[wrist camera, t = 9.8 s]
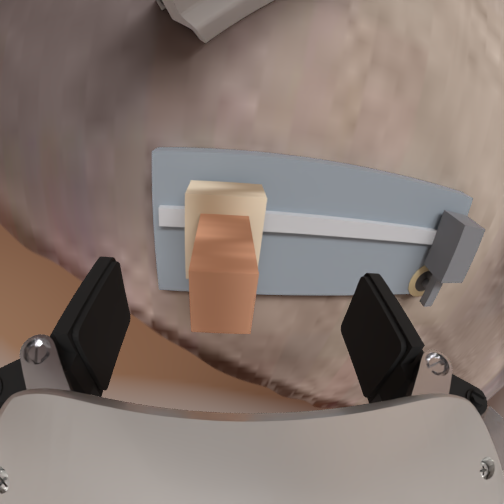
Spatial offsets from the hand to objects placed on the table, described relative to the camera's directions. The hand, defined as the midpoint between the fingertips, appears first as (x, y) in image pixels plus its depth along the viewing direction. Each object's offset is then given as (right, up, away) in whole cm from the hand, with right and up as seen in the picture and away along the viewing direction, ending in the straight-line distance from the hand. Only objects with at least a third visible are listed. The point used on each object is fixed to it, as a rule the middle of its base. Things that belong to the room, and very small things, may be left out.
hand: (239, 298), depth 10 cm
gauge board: (+6, +3, +10) cm, 12 cm away
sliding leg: (-1, +2, +7) cm, 8 cm away
